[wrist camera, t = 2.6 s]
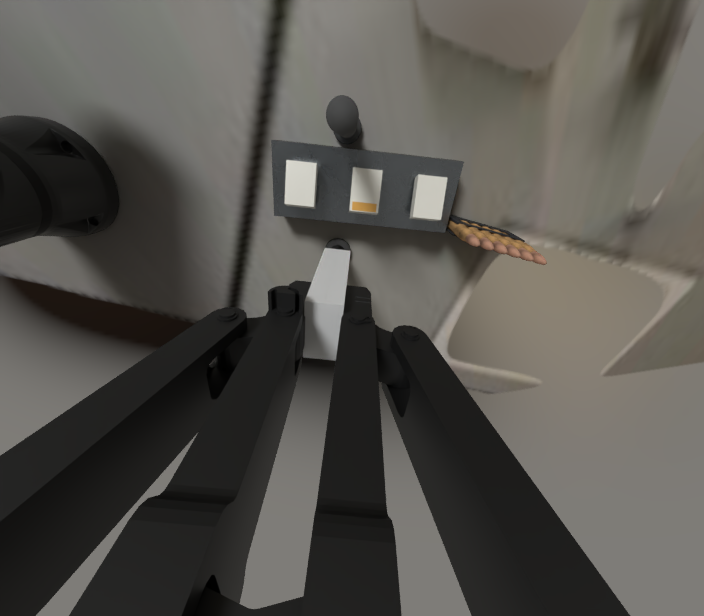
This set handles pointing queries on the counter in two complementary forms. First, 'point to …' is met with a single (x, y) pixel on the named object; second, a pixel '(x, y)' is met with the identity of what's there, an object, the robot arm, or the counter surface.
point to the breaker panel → (338, 181)
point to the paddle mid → (365, 191)
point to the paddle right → (428, 197)
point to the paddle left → (301, 184)
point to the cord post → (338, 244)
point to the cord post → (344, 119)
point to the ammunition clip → (492, 239)
